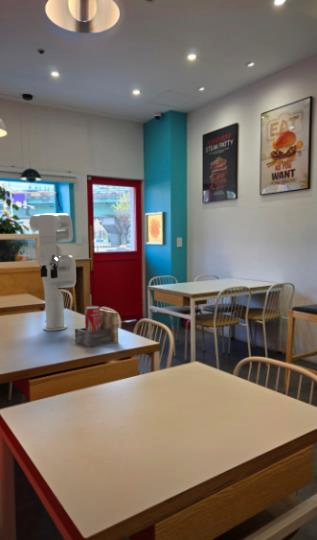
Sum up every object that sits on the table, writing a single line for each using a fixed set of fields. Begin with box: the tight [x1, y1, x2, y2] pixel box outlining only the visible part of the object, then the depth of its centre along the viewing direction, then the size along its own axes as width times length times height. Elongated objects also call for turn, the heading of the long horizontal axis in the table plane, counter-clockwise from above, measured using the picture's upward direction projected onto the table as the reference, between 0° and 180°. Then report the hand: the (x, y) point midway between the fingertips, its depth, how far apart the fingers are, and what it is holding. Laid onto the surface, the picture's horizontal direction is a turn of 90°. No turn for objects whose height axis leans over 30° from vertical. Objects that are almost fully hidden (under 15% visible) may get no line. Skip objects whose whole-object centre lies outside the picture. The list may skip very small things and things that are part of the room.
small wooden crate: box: [74, 308, 119, 348], centre depth 176 cm, size 18×13×14 cm
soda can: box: [84, 305, 101, 333], centre depth 175 cm, size 7×7×13 cm
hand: (49, 277), depth 178 cm, fingers open, 9 cm apart
